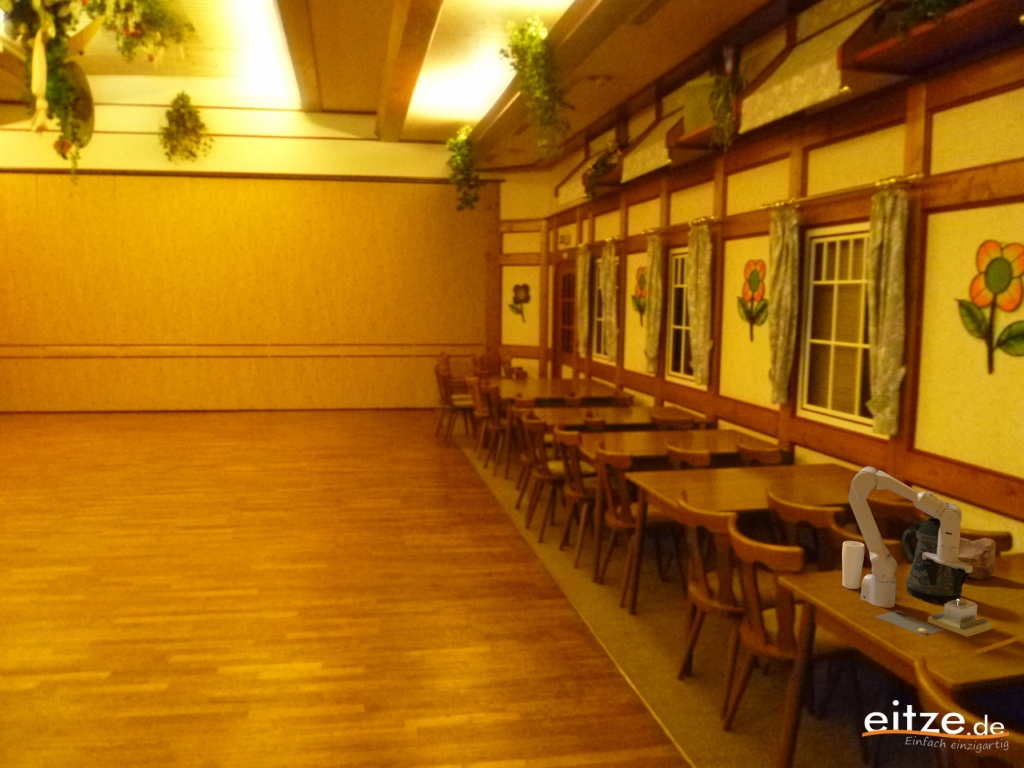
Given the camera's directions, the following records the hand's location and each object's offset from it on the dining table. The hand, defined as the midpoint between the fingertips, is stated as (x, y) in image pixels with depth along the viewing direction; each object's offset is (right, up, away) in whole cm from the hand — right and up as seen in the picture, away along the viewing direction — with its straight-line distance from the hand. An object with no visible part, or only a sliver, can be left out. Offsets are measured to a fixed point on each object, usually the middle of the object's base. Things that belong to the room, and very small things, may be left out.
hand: (944, 588), depth 245 cm
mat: (-14, -10, -6) cm, 18 cm away
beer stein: (+6, -8, +22) cm, 24 cm away
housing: (+1, -8, -7) cm, 10 cm away
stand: (+1, -10, -7) cm, 12 cm away
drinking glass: (-17, -6, +27) cm, 33 cm away
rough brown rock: (+26, -6, +43) cm, 51 cm away
